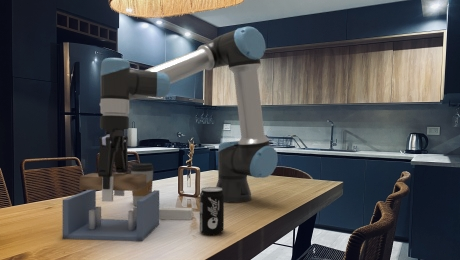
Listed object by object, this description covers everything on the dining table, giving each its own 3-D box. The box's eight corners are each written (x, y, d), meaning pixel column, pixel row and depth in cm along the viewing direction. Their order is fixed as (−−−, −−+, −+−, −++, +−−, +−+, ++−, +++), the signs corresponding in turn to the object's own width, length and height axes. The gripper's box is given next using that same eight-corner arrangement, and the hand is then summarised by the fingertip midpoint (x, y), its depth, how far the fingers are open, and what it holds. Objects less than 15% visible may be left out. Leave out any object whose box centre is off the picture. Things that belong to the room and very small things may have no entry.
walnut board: (146, 186, 95) (146, 174, 95) (137, 190, 88) (138, 177, 88) (92, 185, 96) (92, 173, 96) (79, 189, 89) (79, 176, 89)
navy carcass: (159, 224, 99) (159, 190, 99) (142, 241, 84) (142, 201, 84) (90, 222, 101) (90, 189, 101) (62, 238, 86) (62, 199, 86)
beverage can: (228, 232, 92) (228, 188, 92) (211, 238, 87) (211, 192, 87) (211, 227, 96) (211, 185, 96) (194, 232, 91) (194, 188, 91)
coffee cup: (147, 207, 120) (147, 165, 120) (126, 206, 121) (126, 165, 121) (157, 202, 128) (157, 163, 128) (137, 201, 130) (137, 162, 130)
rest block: (192, 217, 107) (192, 208, 107) (190, 220, 104) (190, 210, 104) (161, 216, 107) (161, 207, 107) (158, 219, 104) (159, 209, 104)
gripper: (116, 116, 103) (115, 191, 103) (83, 113, 83) (82, 206, 83) (140, 116, 102) (139, 192, 102) (112, 113, 82) (111, 206, 82)
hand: (113, 198), depth 92 cm, fingers closed on walnut board, 7 cm apart
